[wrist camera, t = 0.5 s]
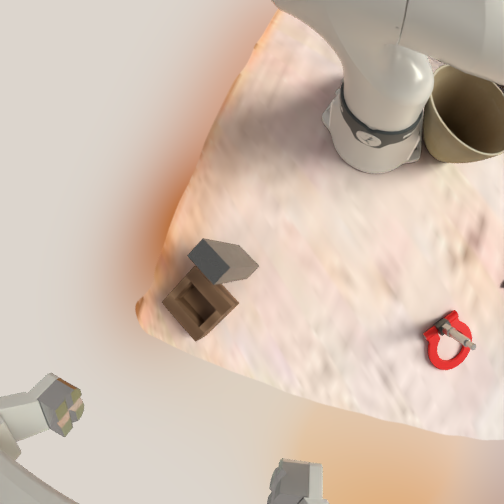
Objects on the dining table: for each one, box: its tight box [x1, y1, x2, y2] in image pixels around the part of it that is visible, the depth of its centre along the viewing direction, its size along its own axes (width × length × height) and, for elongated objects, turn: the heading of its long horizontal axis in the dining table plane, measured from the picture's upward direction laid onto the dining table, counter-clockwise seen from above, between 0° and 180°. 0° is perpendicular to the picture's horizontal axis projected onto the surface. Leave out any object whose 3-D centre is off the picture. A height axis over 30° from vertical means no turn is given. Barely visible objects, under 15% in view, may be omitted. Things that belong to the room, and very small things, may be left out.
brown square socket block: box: [162, 266, 239, 341], centre depth 52 cm, size 9×9×4 cm
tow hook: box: [423, 310, 476, 370], centre depth 37 cm, size 9×14×10 cm
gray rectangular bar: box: [188, 238, 259, 285], centre depth 45 cm, size 3×5×16 cm, turn 45°
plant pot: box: [423, 64, 504, 163], centre depth 37 cm, size 15×15×16 cm
